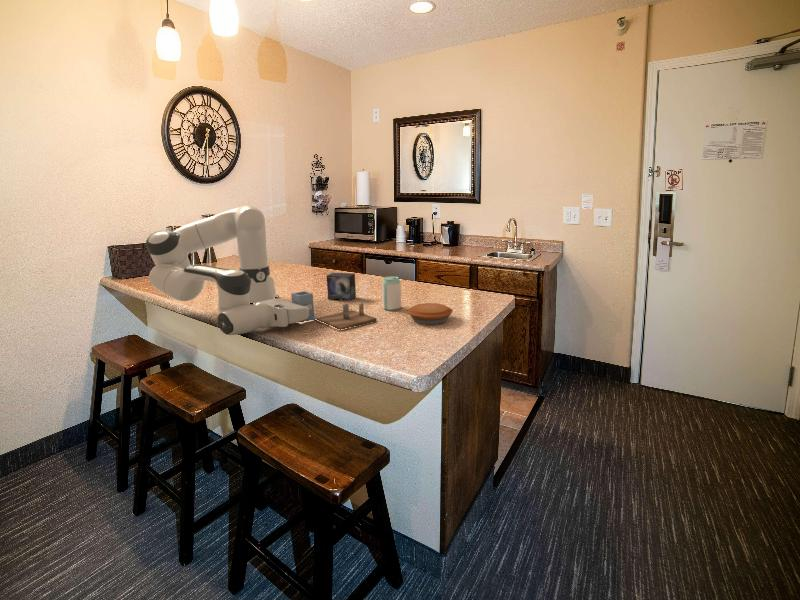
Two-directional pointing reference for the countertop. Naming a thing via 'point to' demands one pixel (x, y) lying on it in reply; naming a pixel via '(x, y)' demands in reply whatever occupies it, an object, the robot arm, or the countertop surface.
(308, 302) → the square pen holder
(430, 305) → the pie
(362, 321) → the post base
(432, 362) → the countertop surface
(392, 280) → the can
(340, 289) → the small box
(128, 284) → the countertop surface
